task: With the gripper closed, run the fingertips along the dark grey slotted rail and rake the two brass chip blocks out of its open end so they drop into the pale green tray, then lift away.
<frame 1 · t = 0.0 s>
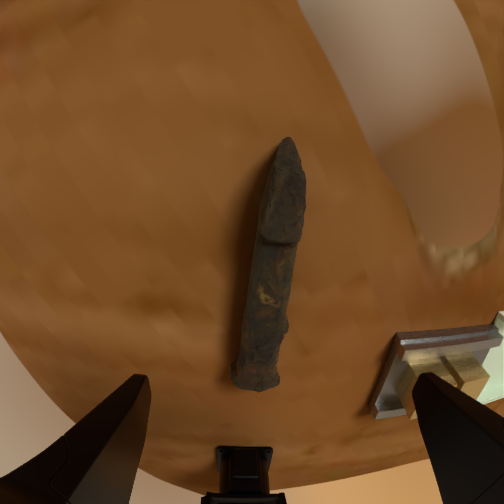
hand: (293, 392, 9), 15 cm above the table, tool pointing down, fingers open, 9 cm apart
dark piece: (260, 265, 24), on the table
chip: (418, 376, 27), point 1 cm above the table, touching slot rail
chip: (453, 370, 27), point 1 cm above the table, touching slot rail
slot rail: (435, 366, 28), on the table
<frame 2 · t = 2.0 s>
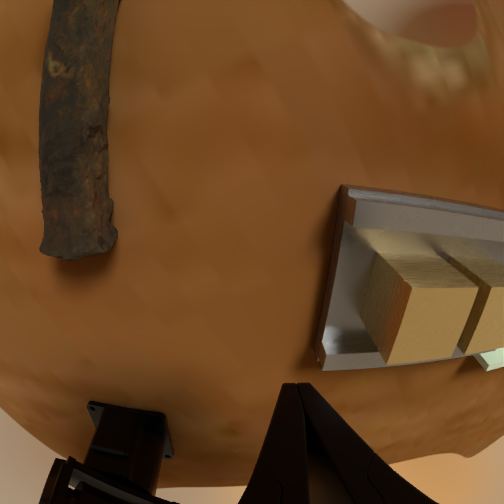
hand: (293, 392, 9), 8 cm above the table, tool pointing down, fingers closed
dark piece: (89, 65, 13), on the table
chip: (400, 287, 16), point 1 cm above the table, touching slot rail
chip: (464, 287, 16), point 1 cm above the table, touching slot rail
slot rail: (431, 278, 17), on the table
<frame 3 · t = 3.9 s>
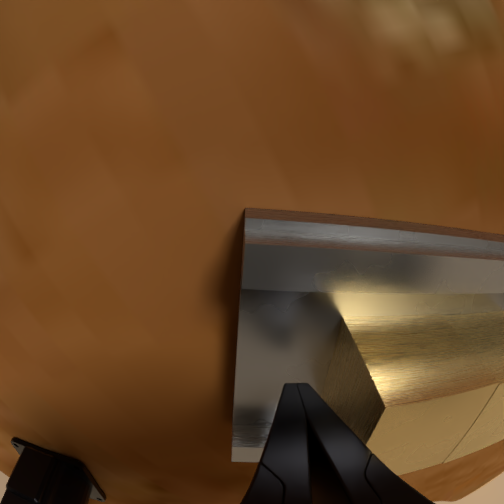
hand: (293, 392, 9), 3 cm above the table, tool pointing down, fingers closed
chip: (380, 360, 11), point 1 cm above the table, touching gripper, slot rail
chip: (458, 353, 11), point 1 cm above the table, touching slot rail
slot rail: (405, 341, 12), on the table
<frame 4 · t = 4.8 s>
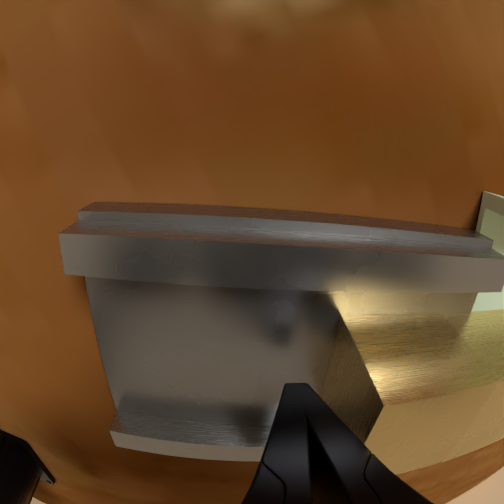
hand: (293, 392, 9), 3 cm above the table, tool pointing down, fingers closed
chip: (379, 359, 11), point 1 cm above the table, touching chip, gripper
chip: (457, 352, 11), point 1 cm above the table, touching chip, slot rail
slot rail: (290, 343, 12), on the table
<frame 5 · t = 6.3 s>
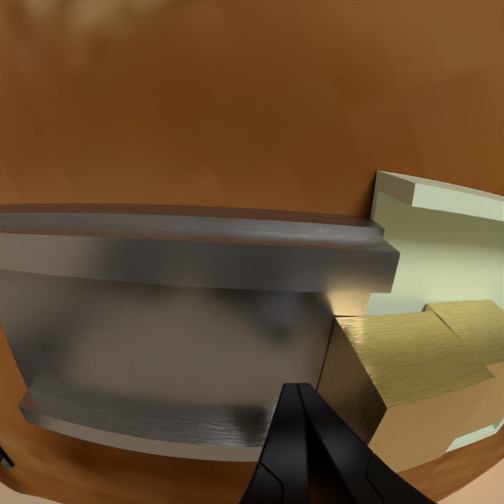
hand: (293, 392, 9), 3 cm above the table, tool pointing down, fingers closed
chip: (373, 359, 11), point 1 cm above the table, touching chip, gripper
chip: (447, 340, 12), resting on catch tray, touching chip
slot rail: (160, 337, 11), on the table
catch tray: (457, 335, 12), on the table
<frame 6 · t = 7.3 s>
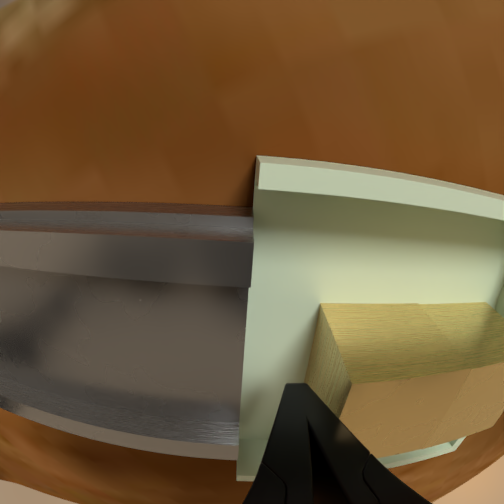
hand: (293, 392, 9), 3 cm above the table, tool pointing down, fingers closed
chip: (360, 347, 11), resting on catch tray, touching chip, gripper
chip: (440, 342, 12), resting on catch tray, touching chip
slot rail: (73, 323, 11), on the table
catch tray: (390, 340, 12), on the table
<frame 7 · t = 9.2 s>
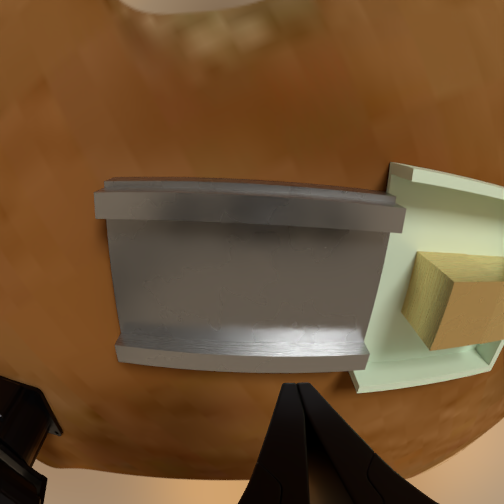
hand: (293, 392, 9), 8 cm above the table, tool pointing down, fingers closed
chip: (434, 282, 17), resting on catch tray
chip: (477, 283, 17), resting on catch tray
slot rail: (246, 275, 17), on the table
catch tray: (449, 280, 17), on the table
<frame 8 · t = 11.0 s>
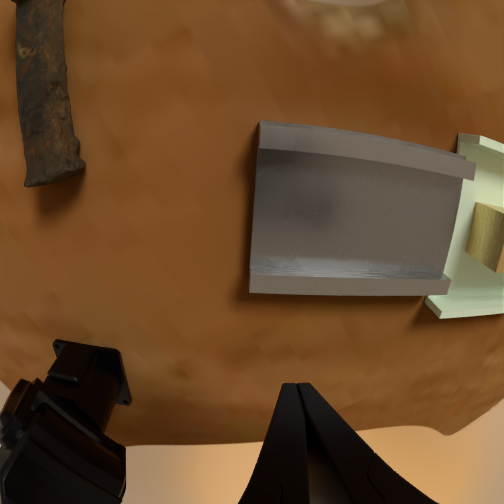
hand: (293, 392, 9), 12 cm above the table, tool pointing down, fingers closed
dark piece: (50, 53, 15), on the table
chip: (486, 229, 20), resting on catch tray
slot rail: (362, 212, 19), on the table
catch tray: (495, 229, 20), on the table
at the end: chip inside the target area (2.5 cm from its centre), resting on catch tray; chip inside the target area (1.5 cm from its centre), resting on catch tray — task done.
